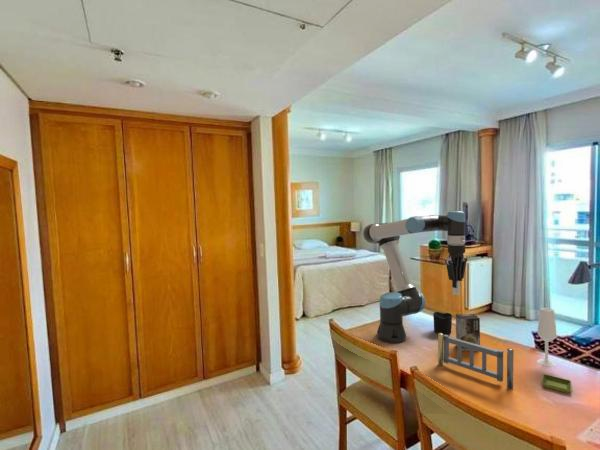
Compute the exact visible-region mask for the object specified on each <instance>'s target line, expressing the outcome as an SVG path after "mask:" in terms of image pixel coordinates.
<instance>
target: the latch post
mask: <svg viewBox="0 0 600 450" xmlns="http://www.w3.org/2000/svg"><path fill="white" fill-rule="evenodd" d="M443 336H444V335H443V334H442V333H437V341H438V342H437V344H438V345H437V347H438V349H437V351H438V355H437V356H438V357H437V358H438V359H437V360H438V361H437V362H438V366H441V367H442V366H444V339H443Z"/></svg>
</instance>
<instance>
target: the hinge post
mask: <svg viewBox="0 0 600 450" xmlns="http://www.w3.org/2000/svg"><path fill="white" fill-rule="evenodd" d="M506 357H507V358H506V388H507V389H509V390H513V389H514V349H513V348H507V351H506Z"/></svg>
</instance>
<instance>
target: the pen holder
mask: <svg viewBox="0 0 600 450" xmlns="http://www.w3.org/2000/svg"><path fill="white" fill-rule="evenodd" d="M432 315H433V316H432V317H433V332H434V333H436V334H438V333H442V334H443V336H444V335H449V336H450V335H451V333H452V322H453V315H452V313H449V312H443V313H442V312H439V311H435V312H433V313H432Z"/></svg>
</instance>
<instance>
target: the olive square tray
mask: <svg viewBox="0 0 600 450" xmlns="http://www.w3.org/2000/svg"><path fill="white" fill-rule="evenodd" d="M541 379H542V380H541V383H542V385H543V387H545V388H547V389H551V390H556V391H559V392H561V393H562V392H563V393H565V394H567V393H570V392H571V391H572V381H571V380H570V379H567V378H566V379H565V378H563V377H558V376H554V375H549V374H545V373H543V374H542V378H541Z"/></svg>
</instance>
